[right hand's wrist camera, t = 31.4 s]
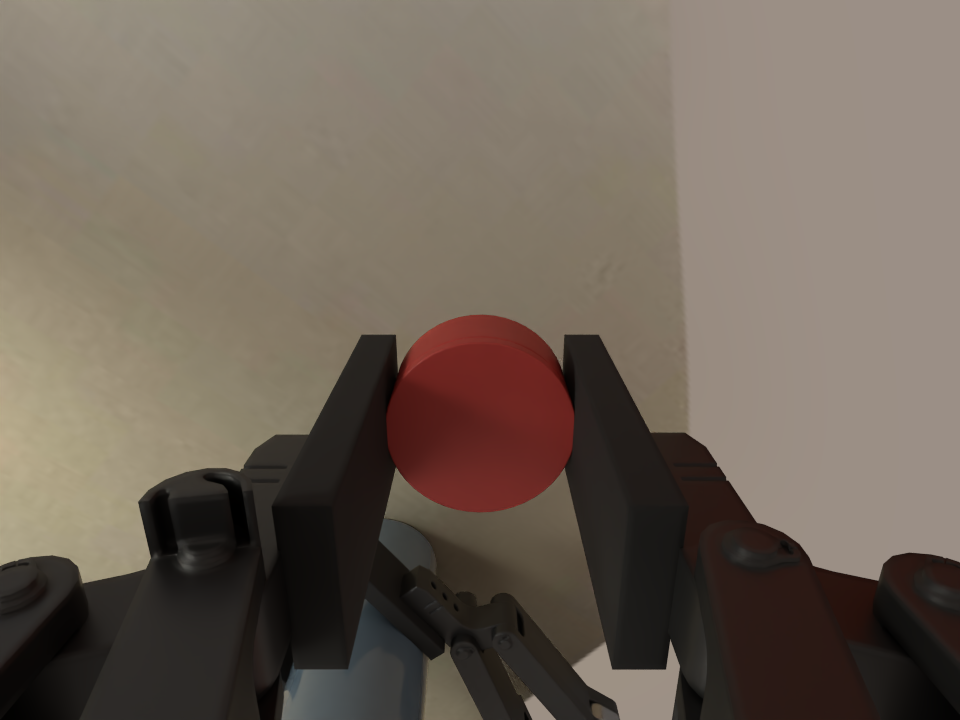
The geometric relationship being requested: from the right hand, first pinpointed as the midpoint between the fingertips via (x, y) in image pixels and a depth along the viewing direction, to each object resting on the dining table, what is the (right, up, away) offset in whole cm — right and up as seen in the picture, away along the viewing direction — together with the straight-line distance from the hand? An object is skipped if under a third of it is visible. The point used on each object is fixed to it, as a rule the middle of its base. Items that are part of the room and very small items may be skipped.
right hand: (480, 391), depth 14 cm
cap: (0, -1, -2) cm, 2 cm away
